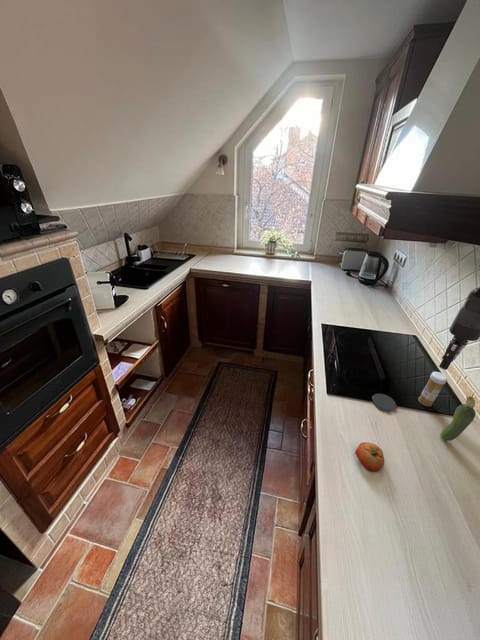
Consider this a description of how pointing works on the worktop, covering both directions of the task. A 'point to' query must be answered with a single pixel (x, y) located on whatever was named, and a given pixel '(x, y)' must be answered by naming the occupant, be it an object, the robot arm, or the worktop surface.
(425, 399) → the sprinkles bottle
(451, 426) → the vegetable
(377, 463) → the tomato
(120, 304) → the worktop surface
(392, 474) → the worktop surface
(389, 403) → the slate coaster
